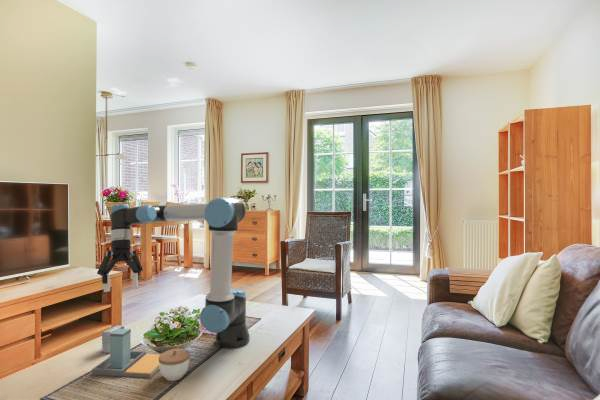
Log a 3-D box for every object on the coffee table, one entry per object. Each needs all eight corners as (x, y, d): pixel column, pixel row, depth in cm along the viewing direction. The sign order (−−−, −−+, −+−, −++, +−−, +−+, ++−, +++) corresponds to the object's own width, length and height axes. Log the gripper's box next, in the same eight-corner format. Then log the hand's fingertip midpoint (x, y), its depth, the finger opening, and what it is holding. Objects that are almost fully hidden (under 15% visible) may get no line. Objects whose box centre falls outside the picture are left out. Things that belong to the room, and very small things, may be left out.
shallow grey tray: (146, 356, 138) (146, 351, 138) (123, 376, 123) (123, 370, 123) (118, 355, 139) (118, 350, 139) (91, 374, 124) (92, 369, 124)
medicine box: (111, 353, 140) (111, 332, 140) (101, 352, 141) (101, 331, 141) (124, 345, 148) (124, 325, 148) (115, 344, 149) (115, 324, 149)
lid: (171, 357, 137) (171, 354, 137) (151, 377, 122) (151, 374, 122) (145, 356, 138) (145, 353, 138) (122, 376, 123) (122, 372, 123)
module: (130, 362, 133) (130, 329, 133) (122, 368, 128) (122, 334, 128) (118, 361, 134) (118, 328, 134) (109, 368, 129) (110, 333, 129)
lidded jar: (158, 387, 116) (158, 359, 116) (158, 372, 126) (158, 346, 126) (191, 380, 120) (191, 354, 120) (188, 366, 130) (188, 342, 130)
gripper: (138, 241, 161) (139, 287, 157) (87, 240, 139) (87, 294, 135) (150, 239, 158) (151, 286, 154) (99, 238, 136) (100, 292, 132)
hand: (121, 290), depth 144 cm, fingers open, 13 cm apart
